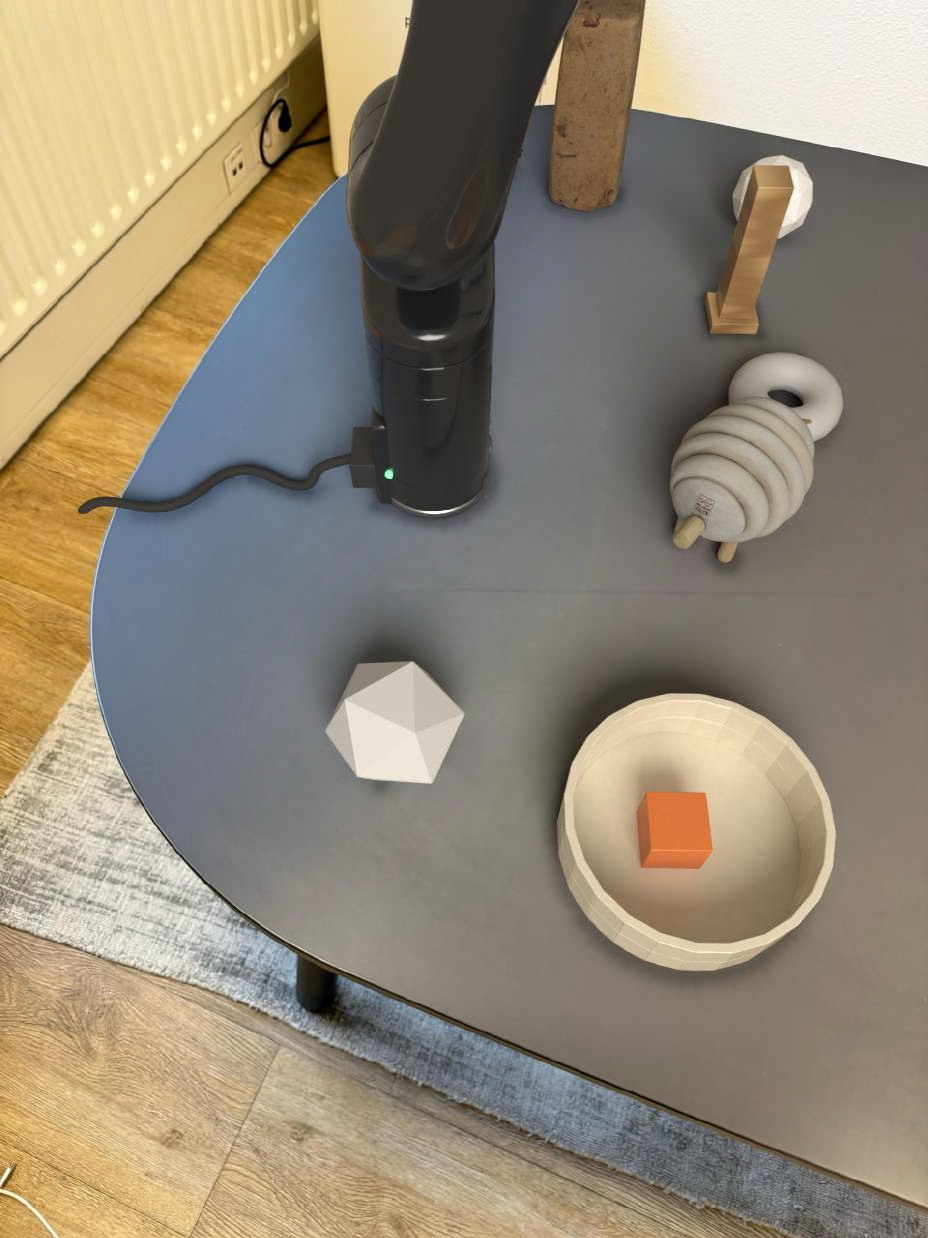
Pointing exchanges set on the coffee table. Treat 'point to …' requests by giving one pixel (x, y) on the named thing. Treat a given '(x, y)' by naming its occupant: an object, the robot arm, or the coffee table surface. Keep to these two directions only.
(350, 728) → the die
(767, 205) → the wooden pillar
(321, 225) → the coffee table surface
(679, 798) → the orange block
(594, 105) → the block
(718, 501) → the toy sheep
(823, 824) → the bowl
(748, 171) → the geometric ball
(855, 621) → the coffee table surface
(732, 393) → the donut
